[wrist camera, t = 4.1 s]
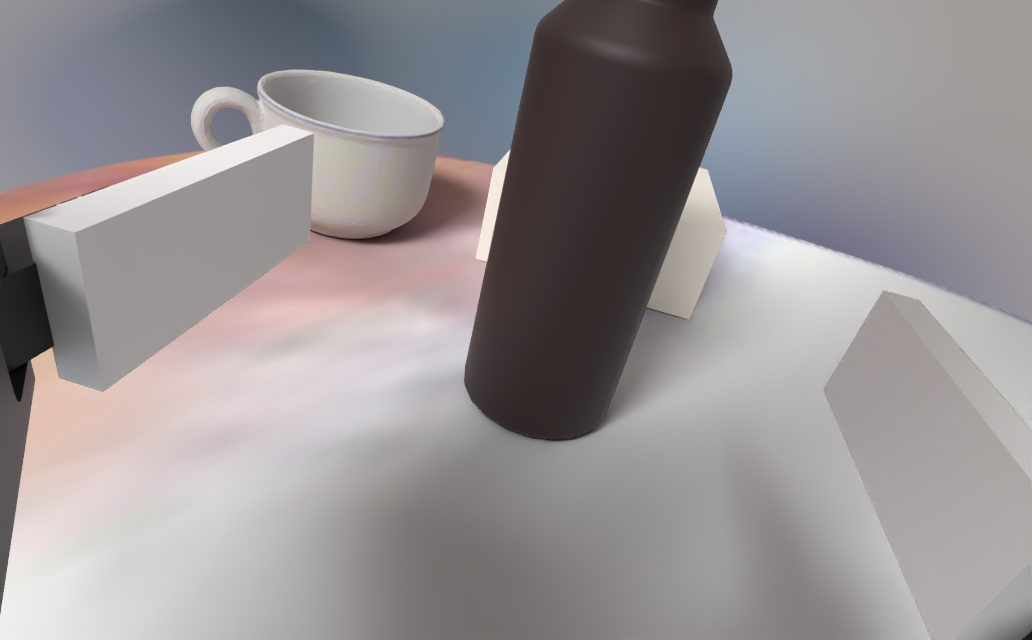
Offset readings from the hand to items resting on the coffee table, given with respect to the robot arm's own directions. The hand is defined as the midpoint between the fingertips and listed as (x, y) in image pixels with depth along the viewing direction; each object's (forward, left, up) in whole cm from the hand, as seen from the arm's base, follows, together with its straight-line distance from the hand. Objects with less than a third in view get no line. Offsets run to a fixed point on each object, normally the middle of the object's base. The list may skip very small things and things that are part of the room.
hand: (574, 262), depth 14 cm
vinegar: (+6, -8, -11) cm, 15 cm away
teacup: (+26, -8, -11) cm, 29 cm away
